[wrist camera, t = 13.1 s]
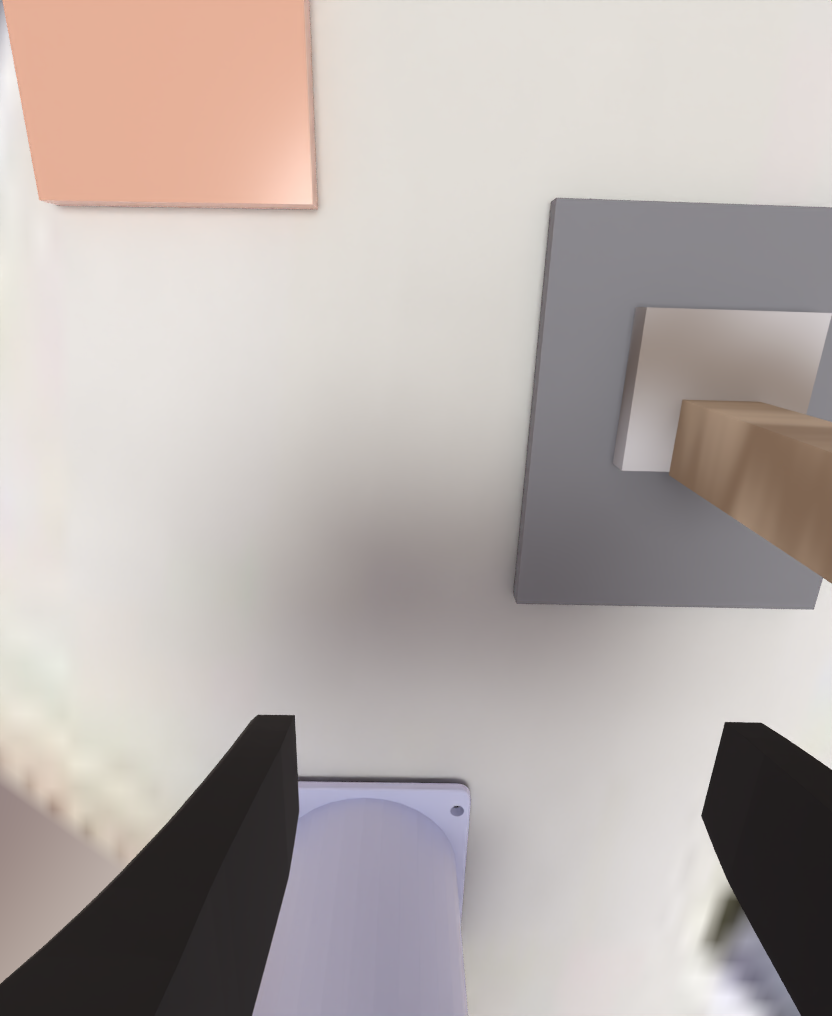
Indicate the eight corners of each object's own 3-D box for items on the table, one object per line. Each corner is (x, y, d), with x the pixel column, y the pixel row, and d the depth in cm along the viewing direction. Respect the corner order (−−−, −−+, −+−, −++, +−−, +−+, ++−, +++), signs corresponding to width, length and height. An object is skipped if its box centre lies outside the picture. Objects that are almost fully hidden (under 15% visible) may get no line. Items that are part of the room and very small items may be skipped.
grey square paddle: (773, 470, 18) (1042, 594, 10) (612, 466, 18) (763, 589, 10) (812, 312, 16) (1162, 321, 9) (635, 307, 16) (834, 311, 9)
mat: (802, 600, 20) (813, 609, 19) (513, 594, 20) (516, 603, 19) (911, 213, 16) (929, 211, 15) (551, 201, 16) (557, 197, 15)
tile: (312, 204, 15) (297, -156, 13) (39, 200, 15) (-28, -162, 13) (320, 211, 16) (307, -114, 14) (68, 208, 16) (13, -120, 14)
